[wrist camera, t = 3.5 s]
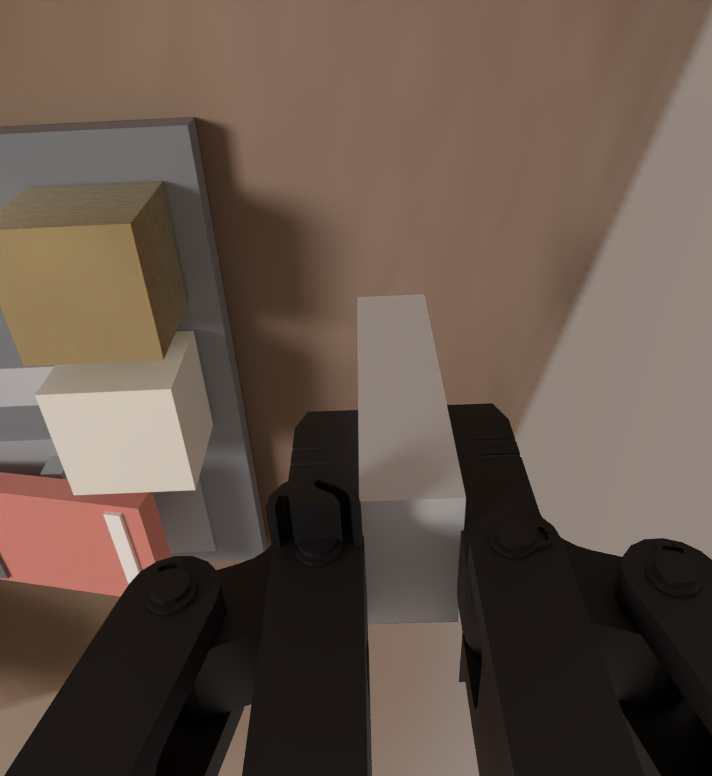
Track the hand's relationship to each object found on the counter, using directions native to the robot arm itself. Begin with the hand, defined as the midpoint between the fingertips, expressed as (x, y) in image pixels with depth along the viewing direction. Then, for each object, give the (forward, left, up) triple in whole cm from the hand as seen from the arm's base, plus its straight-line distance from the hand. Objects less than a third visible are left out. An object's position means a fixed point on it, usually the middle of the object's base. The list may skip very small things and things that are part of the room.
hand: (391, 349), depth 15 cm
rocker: (+10, -12, -4) cm, 17 cm away
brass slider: (0, -8, -6) cm, 10 cm away
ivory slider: (+5, -8, -6) cm, 11 cm away
